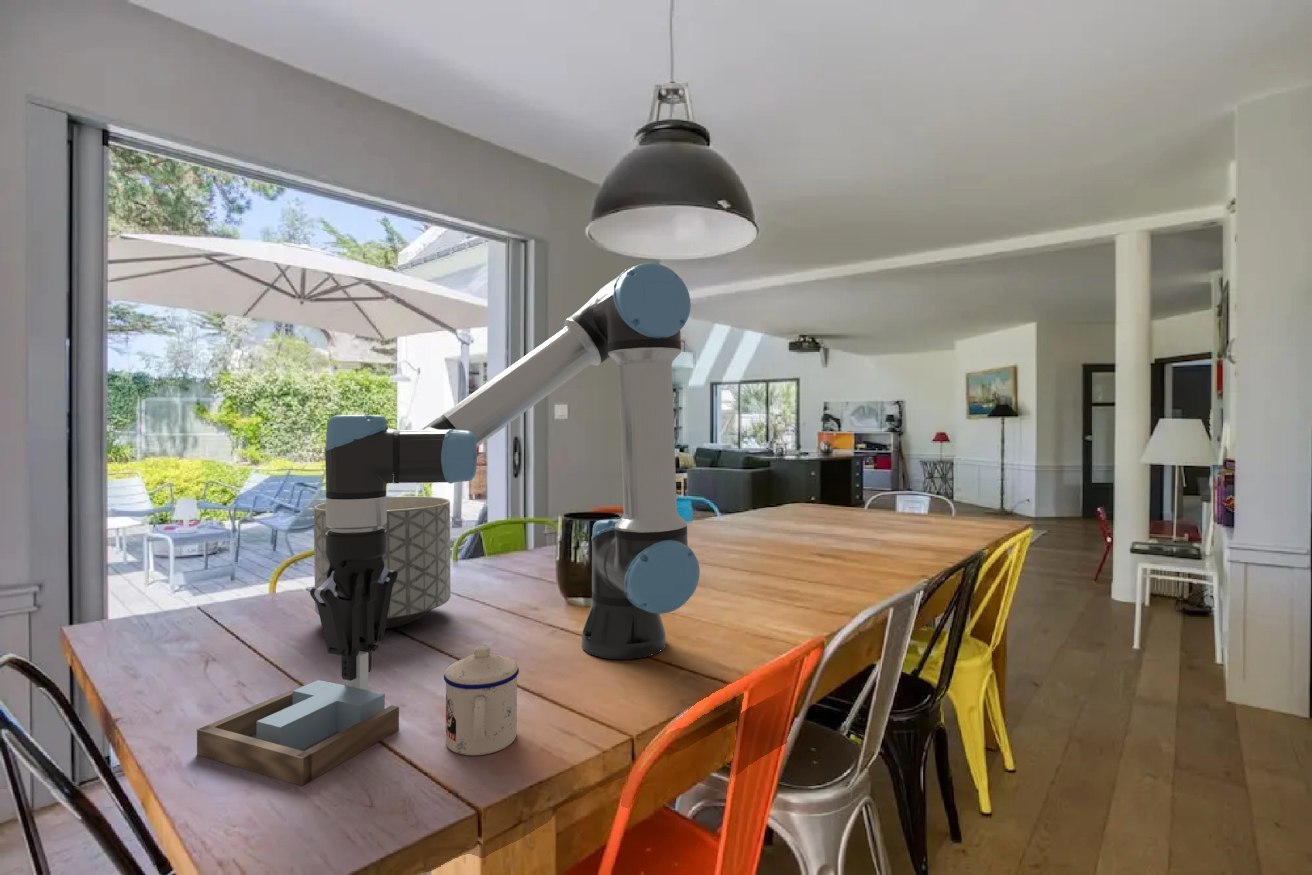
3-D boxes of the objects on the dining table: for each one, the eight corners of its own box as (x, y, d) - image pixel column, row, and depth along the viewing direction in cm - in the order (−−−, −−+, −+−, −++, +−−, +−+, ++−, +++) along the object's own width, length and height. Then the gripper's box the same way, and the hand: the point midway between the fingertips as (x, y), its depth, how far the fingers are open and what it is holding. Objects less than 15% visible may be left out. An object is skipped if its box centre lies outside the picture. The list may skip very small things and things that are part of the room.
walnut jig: (398, 729, 83) (399, 706, 83) (302, 785, 70) (302, 758, 70) (302, 706, 90) (302, 685, 90) (196, 754, 77) (196, 729, 77)
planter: (312, 650, 113) (310, 514, 112) (317, 613, 135) (316, 499, 135) (459, 630, 124) (458, 506, 123) (441, 598, 146) (441, 494, 146)
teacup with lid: (447, 726, 84) (447, 638, 84) (518, 720, 86) (518, 633, 86) (436, 774, 73) (437, 672, 73) (519, 766, 75) (519, 666, 75)
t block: (384, 723, 85) (384, 693, 85) (304, 768, 74) (304, 733, 74) (318, 708, 90) (318, 679, 90) (233, 747, 78) (233, 715, 78)
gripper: (373, 519, 95) (372, 678, 95) (294, 533, 83) (294, 714, 83) (412, 523, 92) (412, 686, 93) (337, 537, 80) (337, 725, 80)
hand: (356, 699), depth 88 cm, fingers closed
